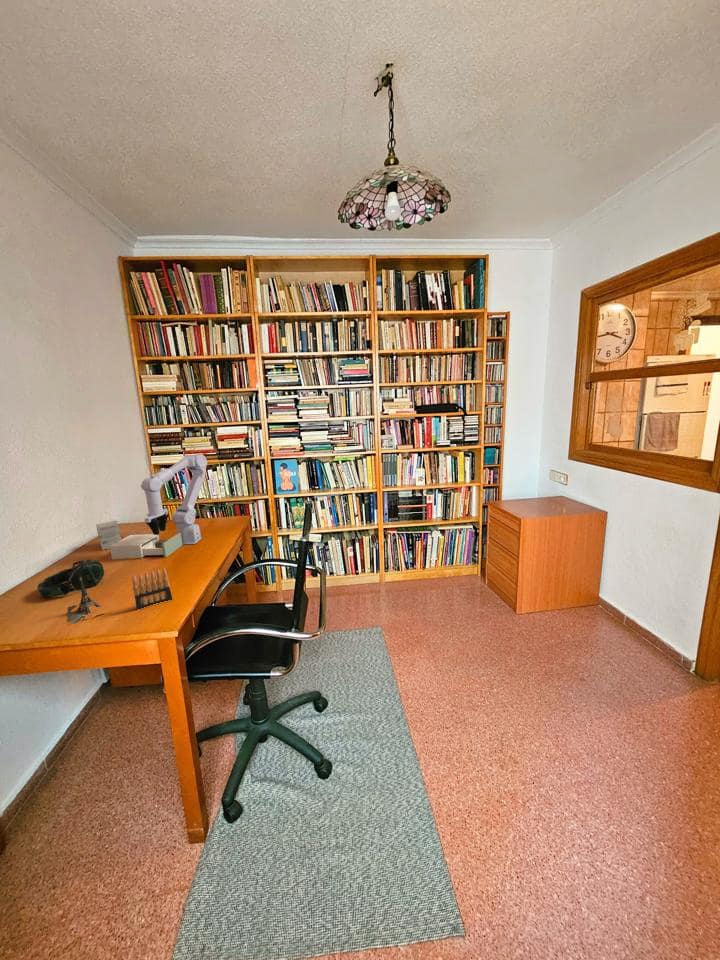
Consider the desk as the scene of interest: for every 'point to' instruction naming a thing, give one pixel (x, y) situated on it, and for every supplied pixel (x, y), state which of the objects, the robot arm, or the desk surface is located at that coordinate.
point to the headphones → (72, 579)
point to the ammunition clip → (151, 589)
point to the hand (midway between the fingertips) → (159, 532)
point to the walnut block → (160, 543)
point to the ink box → (108, 533)
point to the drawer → (163, 546)
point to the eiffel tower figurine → (81, 606)
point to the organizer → (131, 546)
